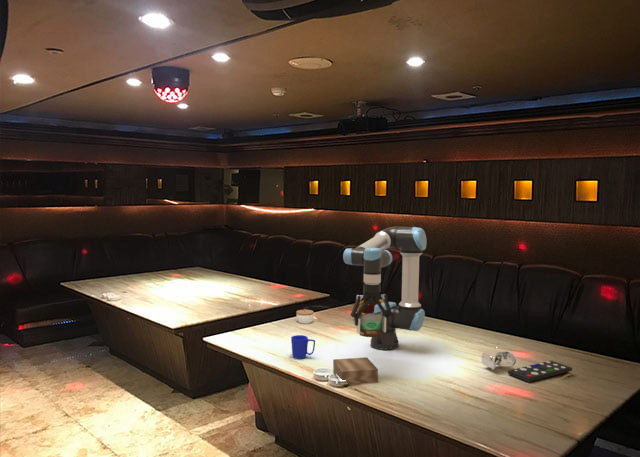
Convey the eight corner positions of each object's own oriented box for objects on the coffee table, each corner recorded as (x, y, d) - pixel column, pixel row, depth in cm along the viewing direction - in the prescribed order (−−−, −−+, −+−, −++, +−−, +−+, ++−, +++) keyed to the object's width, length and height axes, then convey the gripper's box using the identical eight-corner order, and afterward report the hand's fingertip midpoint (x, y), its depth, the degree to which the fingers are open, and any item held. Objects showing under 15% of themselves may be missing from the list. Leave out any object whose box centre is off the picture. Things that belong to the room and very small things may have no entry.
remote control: (507, 373, 229) (508, 369, 229) (550, 363, 244) (551, 359, 243) (528, 382, 219) (528, 377, 219) (571, 370, 234) (572, 366, 234)
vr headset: (492, 373, 230) (494, 350, 228) (479, 365, 238) (481, 343, 236) (515, 368, 235) (517, 345, 233) (502, 360, 243) (504, 338, 241)
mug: (313, 360, 243) (313, 340, 242) (289, 359, 245) (289, 339, 245) (316, 355, 251) (316, 336, 250) (293, 353, 253) (293, 334, 253)
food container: (361, 338, 216) (361, 316, 215) (356, 335, 222) (356, 312, 221) (387, 336, 220) (388, 314, 219) (381, 333, 226) (382, 311, 225)
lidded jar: (294, 322, 316) (294, 307, 315) (310, 321, 319) (310, 306, 318) (298, 326, 305) (299, 311, 305) (315, 325, 309) (315, 310, 308)
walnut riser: (366, 370, 231) (367, 357, 230) (377, 382, 215) (378, 369, 215) (333, 372, 228) (333, 359, 227) (341, 385, 212) (342, 371, 212)
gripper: (394, 280, 225) (393, 328, 227) (343, 282, 220) (343, 331, 222) (400, 283, 218) (399, 332, 220) (348, 285, 213) (347, 335, 214)
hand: (371, 332), depth 221 cm, fingers closed on food container, 11 cm apart
